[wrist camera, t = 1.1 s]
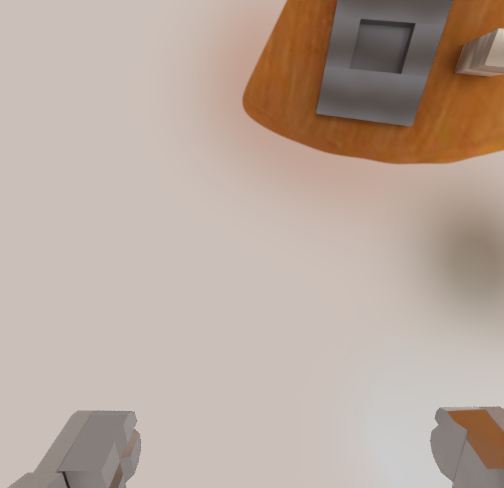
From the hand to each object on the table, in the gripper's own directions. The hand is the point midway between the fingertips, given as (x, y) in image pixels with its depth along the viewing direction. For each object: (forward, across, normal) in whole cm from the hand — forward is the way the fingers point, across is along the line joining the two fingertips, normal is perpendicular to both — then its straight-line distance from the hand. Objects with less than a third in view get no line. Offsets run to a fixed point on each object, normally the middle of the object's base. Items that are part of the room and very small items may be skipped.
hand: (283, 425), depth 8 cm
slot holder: (+39, -15, -17) cm, 45 cm away
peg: (+36, -26, -15) cm, 47 cm away
